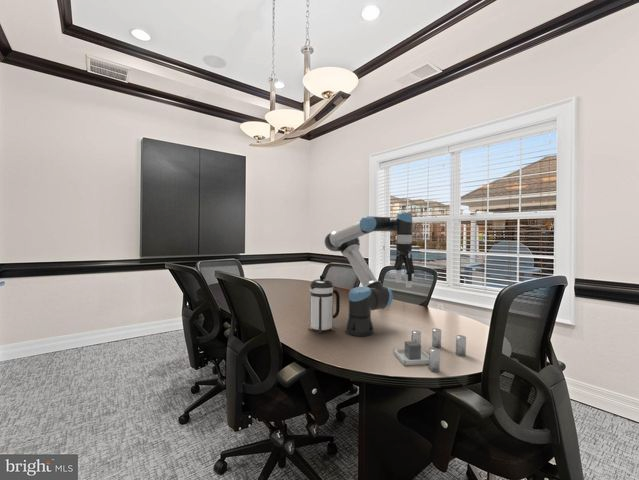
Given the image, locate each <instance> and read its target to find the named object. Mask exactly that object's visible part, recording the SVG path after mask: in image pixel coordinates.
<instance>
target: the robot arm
mask: <svg viewBox="0 0 639 480" xmlns="http://www.w3.org/2000/svg"><path fill="white" fill-rule="evenodd" d="M413 222H414V221H413V214H412V213H411V212H398V213H397V214H396V216H372V215H371V216H370V215H369V216H368V215H367V216H363V217H361V219H359V221H358V222H355V223H354V224H352V225H349V226H347V227H345V228H342V229H341V230H337V231H336V230H335V231H331V232H330V233H328V234H327V235H326V236H325V238H324V246H325V248H327V250H329V251H330V252H340V253H341V254H342V256H343V257H344V258H346V259H347V260H348V262H349V264H350V266H351V268H352V270H353V271H354V272H355V274H356V276H357V278H358V280H359V281H360V283H361V285H362V286H356V287H353V288H351V289H350V290H349V293H348V318H347V321H346V323H345V330H344V331H345V333H346V334H348V335H350V336H353V337H354V336H356V337H369V336H372V335H373V334H374V332H375V330H374V329H375V328H374V325H373V321H372V318H371V317H372V315H371V314H372V312H373V311H376V310H383V309H387V308H389V307H390V306H391V305H392V303H393V299H394V297H393V295H394V294H393V291H392V289H390V287H388V286H384V285H383V283H382V281H381V280H377V278H376V277H375V275H374V273H373V272H372V270H371V268H370V266H369V265H368V263H367V261H366V260H365V258H364V256H363V255H362V253H361V251H360V249H361V248H360V247H361V246H360V245H361V243H360V239H359V238H360V237H362V236H365V235H368V234H371V233H372V232H373V233H374V232H396V238H395V239H396V245H395V247H396V249H395V250H396V257H395V262H394V266H393V268H394V269H395V283H396V284H399V283H400V284H401V283H402V268H403V266H404V267H405V268H404V269H405V271H406V273H405V288H406V289H407V288H409V289H410V288H411V289H412V288H413V274H415V269H414V263H413V254H412V253H410V252H412V251H413V250H412V249H413V245H412V243H413V240H412V239H413V233H412V232H413ZM403 264H404V265H403Z"/></svg>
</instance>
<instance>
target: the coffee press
mask: <svg viewBox="0 0 639 480" xmlns="http://www.w3.org/2000/svg"><path fill="white" fill-rule="evenodd" d="M334 286H335V285H334V283H333V281H331V280H330V279H328V278H327V279H326V278H325V276H324V275H322V274H320V276H319V278H318V279H313V280H312V281H311V283H310V284H309V287H310V288H309V292H310V293H309V295H310V296H309V307H310V308H309V321H310V322H309V326H308V327H307V329H308V330H309V331H310V330H311V329H313V330H316V331H318V335H322V332H323V331H328V330H332V331H336V327H335V326H334V319H336V318H337V317H338V316H339V314H340V308H341V307H340V304H341V303H340V302H341V301H340V297H341V296H340V292H339V291H338V290H336V289H334ZM334 294H335V299H336V300H335V312H334ZM309 327H310V328H309ZM332 327H333V328H332Z"/></svg>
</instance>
